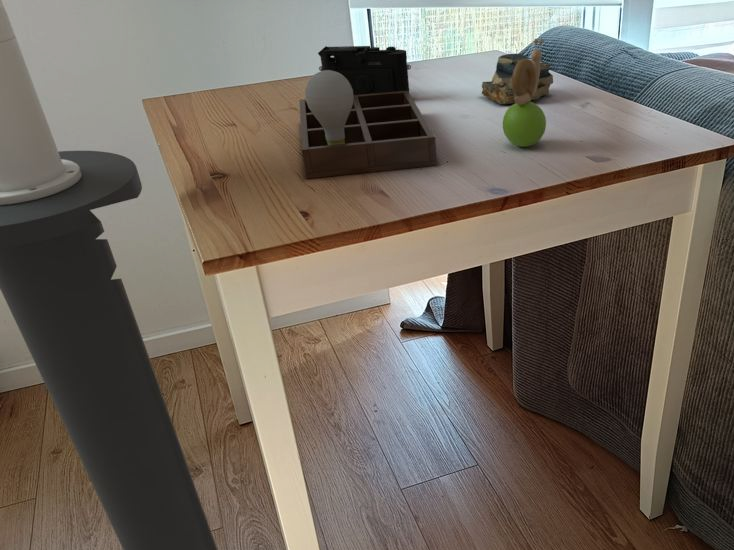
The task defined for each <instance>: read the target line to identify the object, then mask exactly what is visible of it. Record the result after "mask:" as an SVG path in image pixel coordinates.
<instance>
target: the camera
mask: <svg viewBox="0 0 734 550" xmlns="http://www.w3.org/2000/svg"><path fill="white" fill-rule="evenodd" d="M317 55H318V56H319V57H320V63H321V65H319V66H318V70H319V72H321V71H324V70H331V71H335V72H338V73H340V74H342V75H343V76H344V77H345V78H346V79H347V80H348V81H349V83H350V85H351V87H352V89H353V95H362V94H374V93H385V92H397V91H408V92H409V93H410V84H409V70H411V69H412V66H411V65H410V64H408V60H407V59H408V57H407V56H408V55H407V50H405V49H397V48H396V47H395V46H388V47H386V48H385V49H380V47H379V46H372V47H371V45H351V46H350V45H348V46H327V45H325V46H324V47H323V48H322V49H321V50H320V51H318V53H317Z"/></svg>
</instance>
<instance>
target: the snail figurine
mask: <svg viewBox="0 0 734 550" xmlns="http://www.w3.org/2000/svg"><path fill="white" fill-rule="evenodd" d="M533 43H534V44H535V48H534V50H532V52H531V54H530V58H531V59H532V62H531V61H530V60H529V59H522V60H520V61H519V62H518V63H517V65H516V66H515V68H514V71H513V75H512V89H513V92H514V93H515V95H516V97H515V98H514V100H515V102H516V103H512V105H510V106H509V108H508V109H507V110H506V111H505V113H504V115H503V117H502V130H503V134H504V136H505V137H506V139H507V140H508V141H509V142H510V144H513V145H515V146H517V147H521V148H522V147H523V148H525V147H527V148H528V147H530V146H533V145H536V143H538V142H539V141H540V140H541V139H542V138H543V136H544V134H545V131H546V128H547V118H546V115H545V113H544V111H543V109H542V108H541V107H540V106H539V105H538V104H537V103H535V102H533V101H531V99H532V97H533V96H534V94H535V92H536V90H537V85H538V80H539V75H540V61H542V58H543V56H542V55H543V54H542V44H543V43H544V40H543V39H542V38H540V39H538V38H534V39H533ZM537 44H539V45H540V49H538V48H537Z"/></svg>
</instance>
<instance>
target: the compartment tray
mask: <svg viewBox="0 0 734 550" xmlns="http://www.w3.org/2000/svg"><path fill="white" fill-rule="evenodd" d="M353 96H354V99H353V106H352V108H351V111H350V113H349V116H348V118H347V121H346V123H345V126H344V133H345V139H344V140H345V141H344V142H345V144H338V145H328V143H327V140H326V136H325V131H324V128H323V127H322V125H321V124H320V123H319V121H318V120H317V119H316V117H315V116H314V115H313V113H312V112H311V110H310V109H309V107H308V105H307V102H306V98H305V99H299V100H298V102H299V121H300V123H299V124H300V141H301V154H302V159H303V166H304V171H305V177H306V179H316V178H327V177H337V176H347V175H356V174H365V173H366V174H367V173H375V172H385V171H395V170H406V169H413V168H414V169H415V168H424V167H435V166H438V164H437V146H436V145H437V144H436V137H435V135H434V133H433V131H432V129H431V128H430V126H429V125H428V123H427V120H426V119H425V118H424V116H423V114H422V112H421V110H420V109H419V107H418V106H417V104H416V102H415V99H414V98H413V97H412V95H411V93H410V91H409V92H408V91H397V92H385V93H374V94H362V95H353Z"/></svg>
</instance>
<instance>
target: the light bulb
mask: <svg viewBox="0 0 734 550" xmlns="http://www.w3.org/2000/svg"><path fill="white" fill-rule="evenodd" d="M304 92H305V93H304V95H305V99H306V102H307V105H308V107H309V109H310V110H311V112H312V113H313V115H314V116H315V117H316V119H317V120H318V121H319V123H320V124H321V125H322V127H323V128H324V131H325V136H326V140H327V143H328V145H338V144H345V142H344V141H345V140H344V139H345V133H344V126H345V123H346V121H347V118H348V116H349V113H350V111H351V108H352V106H353V99H354V96H353V89H352V87H351V85H350V83H349V81H348V80H347V79H346V78H345V77H344V76H343V75H342V74H340V73H338V72H335V71H331V70H324V71H319V72H316V73H314V74H313V75H311V77H310V78H309V79H308V82H307V83H306V86H305V91H304Z"/></svg>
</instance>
